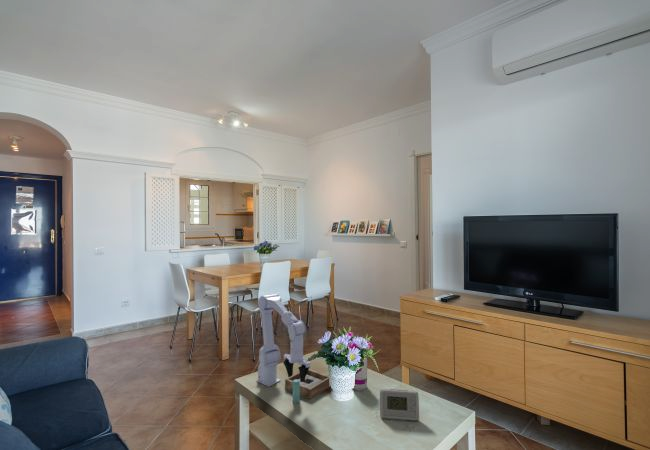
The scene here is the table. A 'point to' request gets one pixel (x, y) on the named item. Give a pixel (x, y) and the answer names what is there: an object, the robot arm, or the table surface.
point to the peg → (296, 391)
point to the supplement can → (361, 377)
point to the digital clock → (399, 404)
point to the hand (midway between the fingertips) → (296, 378)
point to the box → (309, 383)
